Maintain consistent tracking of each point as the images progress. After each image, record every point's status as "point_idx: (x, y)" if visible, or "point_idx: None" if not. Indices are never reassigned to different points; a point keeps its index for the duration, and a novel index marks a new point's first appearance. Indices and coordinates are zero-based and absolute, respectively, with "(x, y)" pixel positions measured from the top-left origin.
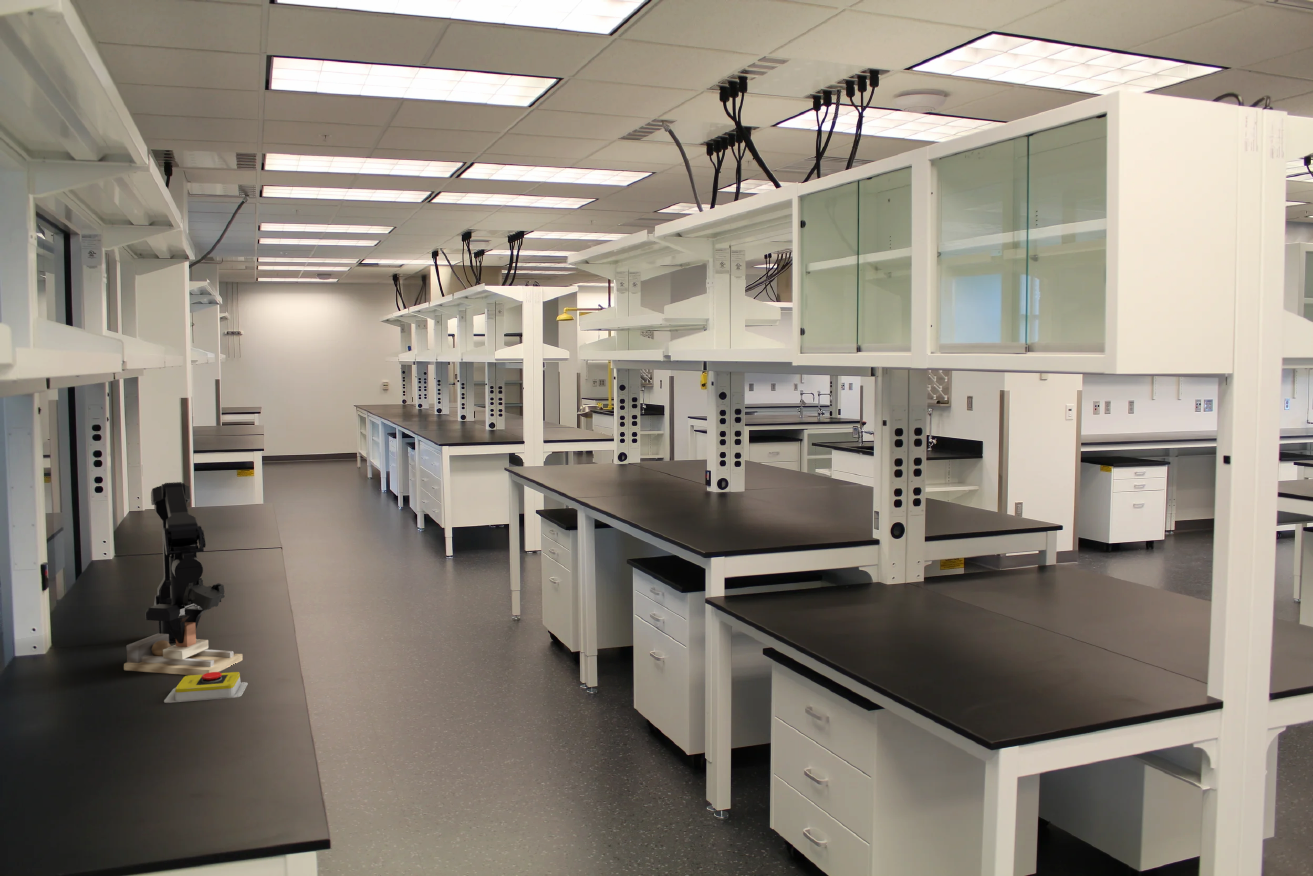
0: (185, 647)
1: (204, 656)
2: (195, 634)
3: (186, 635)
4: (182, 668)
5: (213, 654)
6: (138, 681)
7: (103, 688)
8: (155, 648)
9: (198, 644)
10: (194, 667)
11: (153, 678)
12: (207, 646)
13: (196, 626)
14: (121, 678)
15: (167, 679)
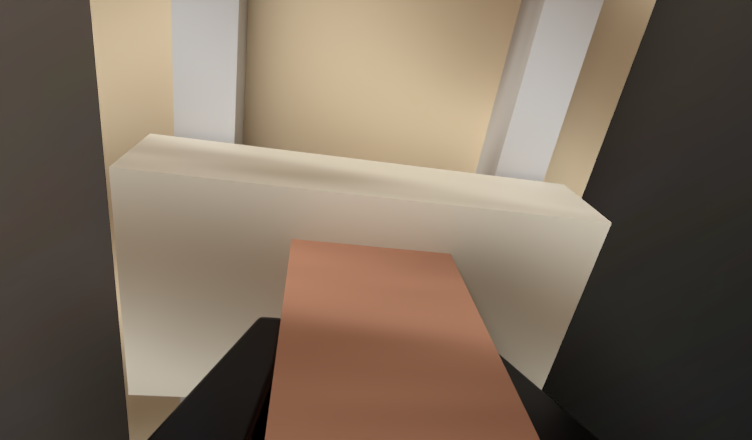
0: (467, 263)
1: (259, 113)
2: (291, 312)
3: (494, 360)
4: (605, 127)
5: (245, 10)
6: (667, 313)
7: (741, 401)
8: None
9: (320, 190)
10: (612, 20)
11: (626, 264)
12: (160, 143)
13: (181, 431)
14: (591, 415)
15: (670, 165)
